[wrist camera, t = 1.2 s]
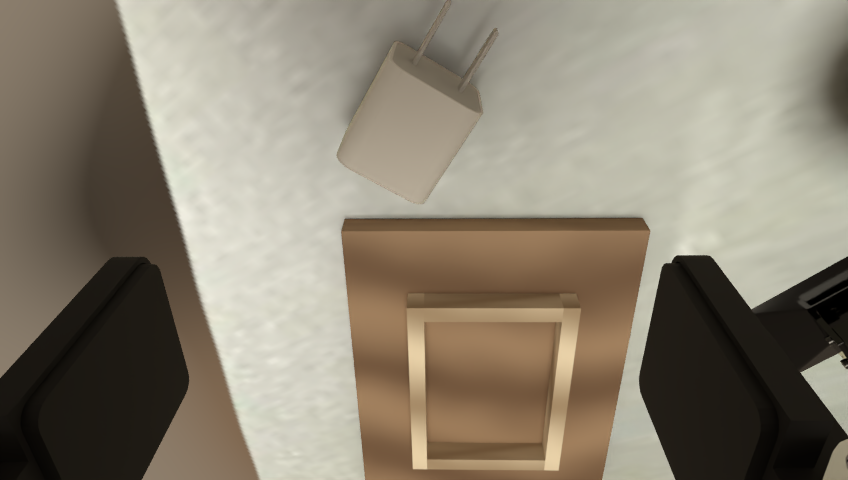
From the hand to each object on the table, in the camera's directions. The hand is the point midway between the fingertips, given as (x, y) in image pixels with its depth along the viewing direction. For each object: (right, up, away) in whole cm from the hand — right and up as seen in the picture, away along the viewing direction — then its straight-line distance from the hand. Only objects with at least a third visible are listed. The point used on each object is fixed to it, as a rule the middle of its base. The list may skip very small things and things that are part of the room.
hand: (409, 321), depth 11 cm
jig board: (+4, -5, +22) cm, 22 cm away
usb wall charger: (0, +8, +14) cm, 17 cm away
